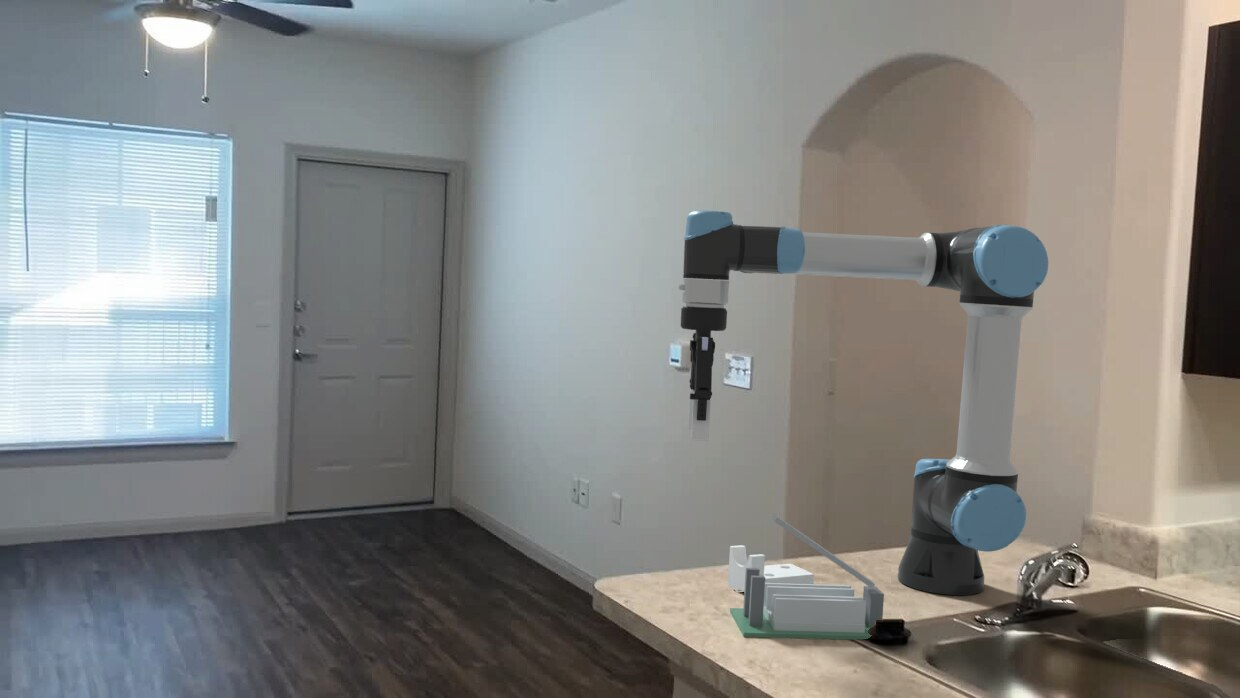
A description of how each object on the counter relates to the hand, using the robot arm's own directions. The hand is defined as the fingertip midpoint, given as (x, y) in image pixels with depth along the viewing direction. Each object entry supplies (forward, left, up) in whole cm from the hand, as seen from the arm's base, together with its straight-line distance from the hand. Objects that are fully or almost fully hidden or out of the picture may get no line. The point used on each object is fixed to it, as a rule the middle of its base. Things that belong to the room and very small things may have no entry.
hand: (697, 434), depth 177 cm
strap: (-19, +12, -16) cm, 28 cm away
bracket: (-15, -7, -28) cm, 33 cm away
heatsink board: (-17, +12, -28) cm, 35 cm away
